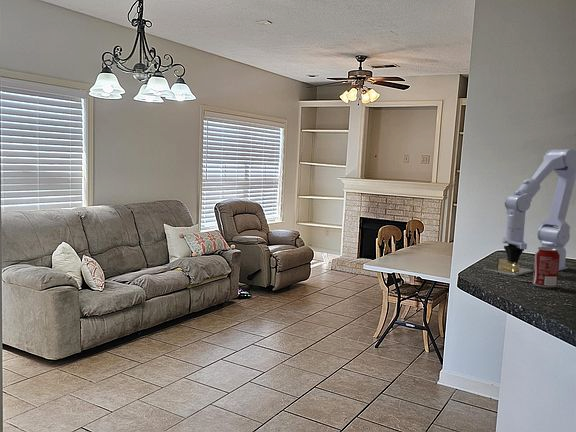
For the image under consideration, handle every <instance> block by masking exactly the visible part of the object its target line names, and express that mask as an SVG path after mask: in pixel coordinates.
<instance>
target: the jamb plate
mask: <svg viewBox="0 0 576 432" xmlns="http://www.w3.org/2000/svg"><path fill="white" fill-rule="evenodd" d="M498 268H499V269H505V270H508V269H506V268H503V267H501V266H499V264H498ZM482 271H488V272H493V271H494V272H493V273H498V272H499V273H500V274H505V275H509V276H515V277H517V276H522V275H525V274H528V273H534V269H529V268H523V267H519V272H513V271H511V270H510V271H507V272H506V271H500V270H492V269H486V266H485V267H482ZM499 273H498V274H499Z"/></svg>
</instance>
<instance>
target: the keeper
mask: <svg viewBox="0 0 576 432" xmlns="http://www.w3.org/2000/svg"><path fill="white" fill-rule="evenodd" d="M485 262H486V263H485V264H486V265H485V267H486V269H492V270H500V271H506V272H507V271H510V270H505V269H499V268H498V265H499V262H494V261H485Z"/></svg>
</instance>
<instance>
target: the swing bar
mask: <svg viewBox="0 0 576 432" xmlns="http://www.w3.org/2000/svg"><path fill="white" fill-rule="evenodd" d="M498 263H499V264H498V265H499V266H501V267H503V268H506V269H508V270H511V271H513V272H519V268H521V267H520V264H519V263H516V262H514V263H513V262H511V261H508V259H503V258H499V259H498Z"/></svg>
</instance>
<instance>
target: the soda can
mask: <svg viewBox="0 0 576 432" xmlns="http://www.w3.org/2000/svg"><path fill="white" fill-rule="evenodd" d="M559 259H560V255H559V253H558V249H555V248H548V247H541V246H538V247H537V250H536V252H535V255H534V263H533V265H534V267H533V277H532V278H533V279H532V284H533V285H535V286H536V287H538V288H542V289H554V288H557V287H558V282H559V281H558V280H559V279H558V278H559V271H560V270H559ZM558 270H559V271H558Z"/></svg>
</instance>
